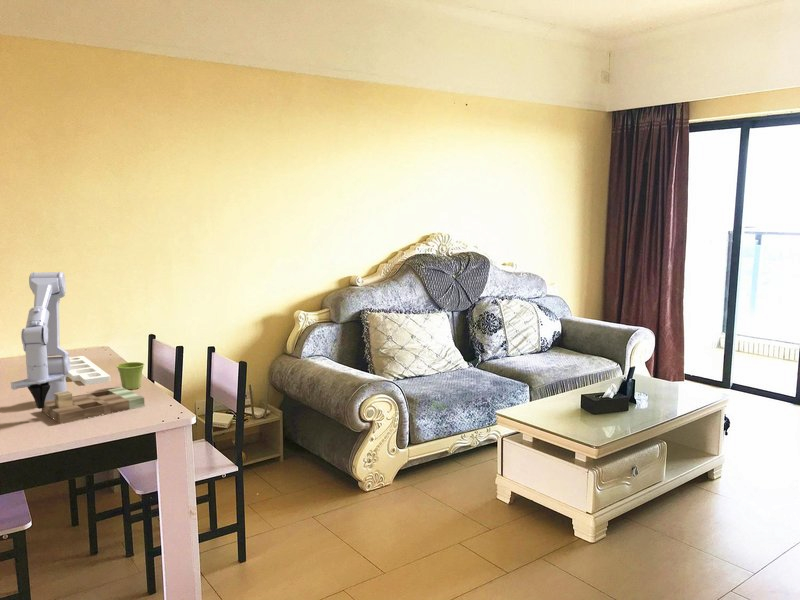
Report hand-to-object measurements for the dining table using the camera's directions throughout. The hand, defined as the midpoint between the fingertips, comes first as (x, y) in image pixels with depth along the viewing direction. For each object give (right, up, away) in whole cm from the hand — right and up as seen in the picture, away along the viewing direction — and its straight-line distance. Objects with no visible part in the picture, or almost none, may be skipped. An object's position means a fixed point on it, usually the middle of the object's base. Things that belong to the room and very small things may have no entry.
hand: (40, 407), depth 202 cm
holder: (-20, +3, +58) cm, 62 cm away
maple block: (+5, 0, +5) cm, 7 cm away
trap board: (+11, -2, +11) cm, 16 cm away
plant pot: (+13, +1, +37) cm, 39 cm away
